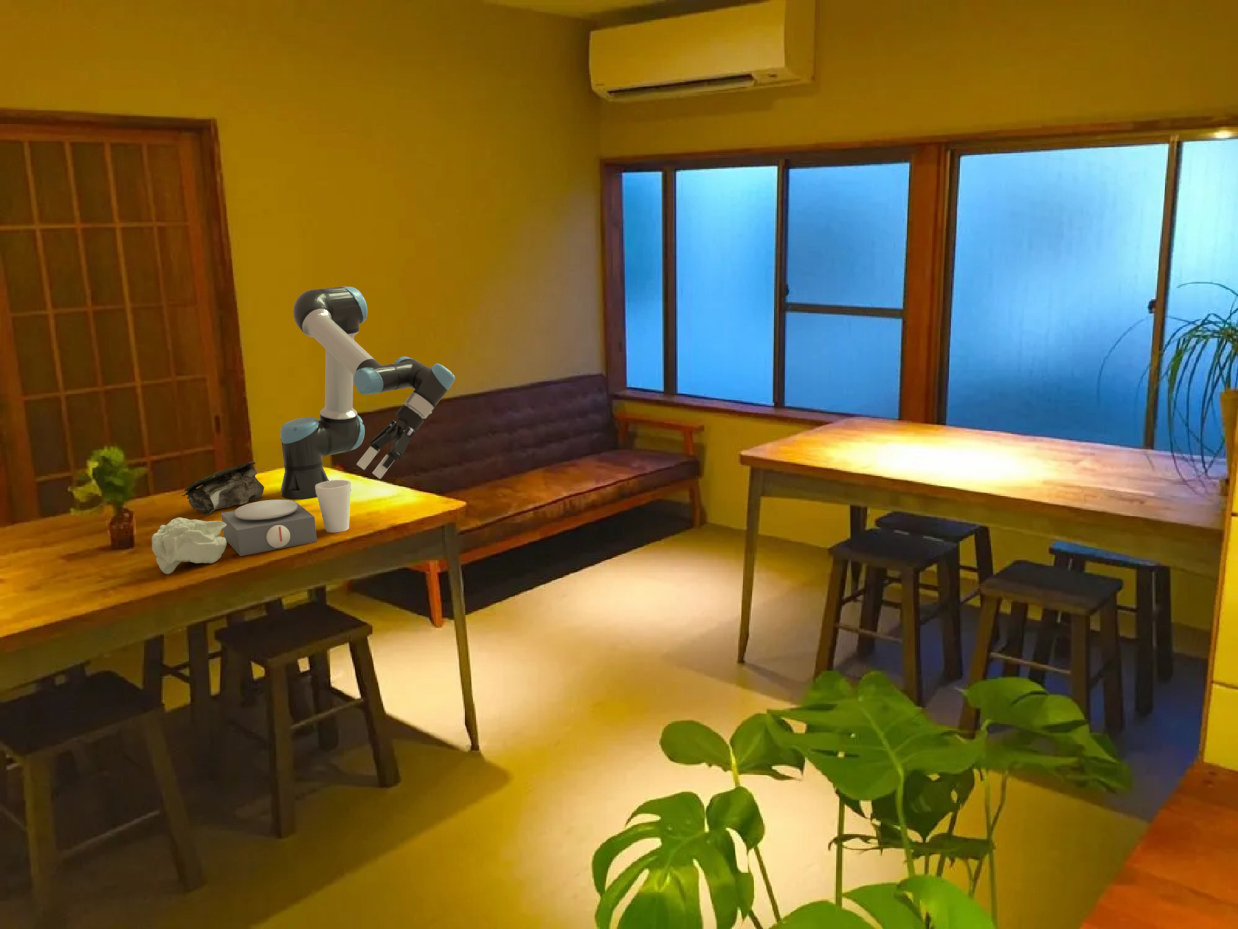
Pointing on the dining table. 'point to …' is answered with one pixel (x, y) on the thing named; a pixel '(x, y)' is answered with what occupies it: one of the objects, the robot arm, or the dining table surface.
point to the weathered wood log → (225, 489)
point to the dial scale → (268, 526)
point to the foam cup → (334, 504)
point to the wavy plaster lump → (188, 543)
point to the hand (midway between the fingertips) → (367, 471)
